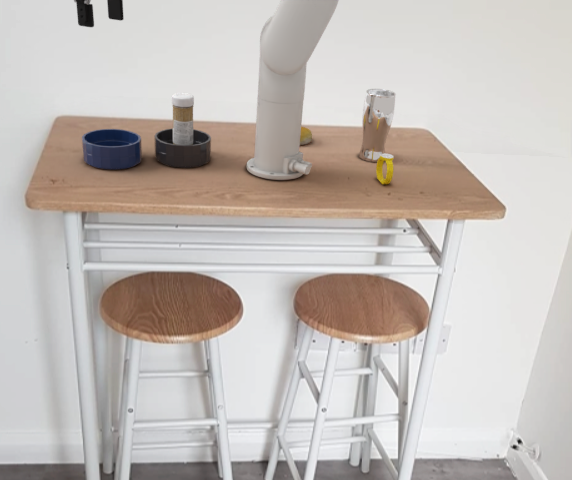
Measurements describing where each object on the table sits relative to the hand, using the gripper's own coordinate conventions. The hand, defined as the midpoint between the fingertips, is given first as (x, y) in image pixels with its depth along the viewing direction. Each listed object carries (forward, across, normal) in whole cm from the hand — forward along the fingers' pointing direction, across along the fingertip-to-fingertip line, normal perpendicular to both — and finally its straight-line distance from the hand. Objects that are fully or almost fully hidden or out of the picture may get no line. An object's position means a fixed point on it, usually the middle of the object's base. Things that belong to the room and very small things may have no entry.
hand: (101, 22), depth 137 cm
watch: (+28, +21, -55) cm, 65 cm away
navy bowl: (+27, -1, -1) cm, 27 cm away
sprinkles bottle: (+27, +9, -12) cm, 31 cm away
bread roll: (+28, +36, -28) cm, 53 cm away
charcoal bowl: (+28, +9, -13) cm, 32 cm away
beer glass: (+28, +35, -48) cm, 66 cm away
